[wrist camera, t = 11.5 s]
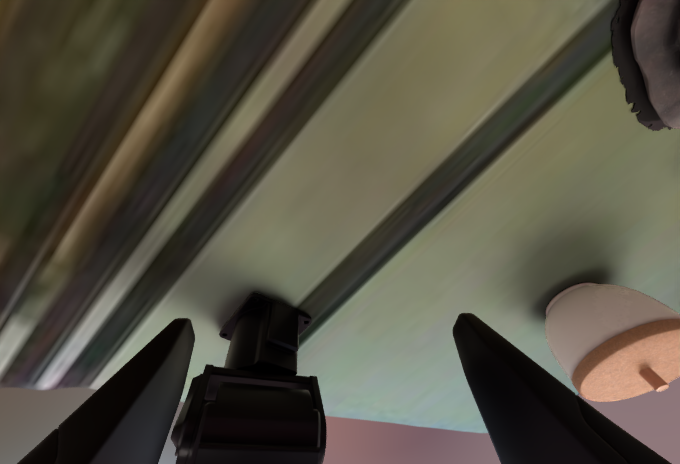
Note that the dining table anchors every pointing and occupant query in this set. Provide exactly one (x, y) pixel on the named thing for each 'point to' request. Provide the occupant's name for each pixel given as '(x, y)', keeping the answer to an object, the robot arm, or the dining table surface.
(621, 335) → the trinket box
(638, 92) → the angel statue
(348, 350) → the dining table surface
